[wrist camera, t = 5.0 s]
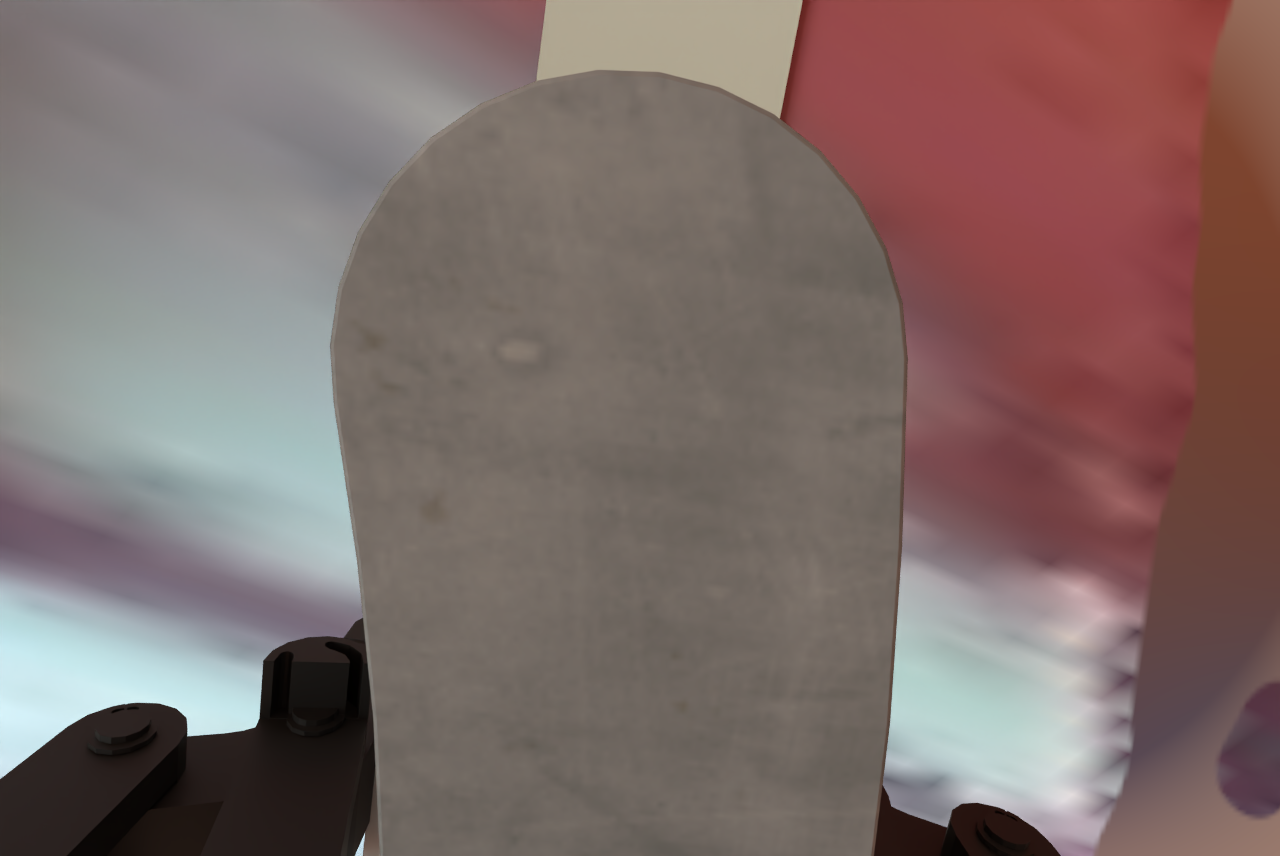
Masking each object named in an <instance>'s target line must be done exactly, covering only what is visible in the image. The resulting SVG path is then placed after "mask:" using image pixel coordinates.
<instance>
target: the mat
mask: <svg viewBox="0 0 1280 856" xmlns="http://www.w3.org/2000/svg"><path fill="white" fill-rule="evenodd" d="M802 1H803V0H546V8H545V16H544V24H543V32H542V39H541V47H540V55H539V63H538V71H537V78H536V81H538V80H543V79H549V78H555V77H560V76H566V75H572V74H577V73H583V72H589V71H594V70H619V71H645V72H662V73H666V74H670V75H674V76H678V77H681V78H685V79H689V80H693V81H697V82H701V83H705V84H709V85H713V86H717V87H720V88H722V89H724V90H726V91H728V92H730V93H732V94H734V95H736V96H738V97H740V98H742V99H744V100H746V101H748V102H750V103H752V104H754V105H756V106H758V107H760V108H763V109H765V110H767V111H769V112H771V113H773V114H774V115H776V116H777V117H778V118H779V119H780V115H781V110H782V105H783V100H784V95H785V89H786V84H787V79H788V74H789V69H790V64H791V58H792V53H793V48H794V43H795V38H796V32H797V27H798V22H799V17H800V12H801V7H802Z"/></svg>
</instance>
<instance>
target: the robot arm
mask: <svg viewBox="0 0 1280 856" xmlns="http://www.w3.org/2000/svg"><path fill="white" fill-rule="evenodd" d="M364 833H365V840H364V850H363V856H380V848H379V827H378V806H377V785H376V764H375V743H374V722H373V710H372V700H371V691H370V681H369V671H368V662H367V652H366V642H365V632H364V623H363V618H362V619H360V620H358V621H356V622H355V623H354V625H353V626H352V627H351V629H350V630H349V632H348V633H347V634H346V636H345V637H344V638H338V637H330V636H325V637H308V638H304V639H300V640H296V641H292V642H288V643H286V644H284V645H282V646H280V647H278V648H276V649H275V650H273V651H272V652H271V653H270V654H269V655H268V656H267V657H266V658H265V660H264V661H263V675H262V690H261V705H260V719H259V721H258V723H257V726H256V727H255V728H252V729H248V730H245V731H239V732H232V733H225V734H213V735H200V736H188V737H187V719H186V717H185V716H184V715H183V714H181V713H180V712H179V711H178V710H177V709H175V708H172V707H169V706H165V705H162V704H156V703H130V704H126V705H125V704H123V705H118V706H113V707H110V708H107V709H104V710H101V711H98V712H95V713H92V714H89V715H87V716H85V717H83V718H82V719H80V720H78V721H77V722H75V723H73V724H72V725H70V726H68V727H67V728H65V729H64V730H63V731H62V732H60V733H59V734H58V735H56V736H55V737H54V738H53V739H51V740H50V741H49V742H47V743H46V744H45V745H44V746H42V747H41V748H40V749H38V750H37V751H36V752H35V753H33V754H32V755H31V756H29V757H28V758H27V759H26V760H24V761H23V762H22V763H21V764H19V765H18V766H17V767H15V768H14V769H13V770H12V771H10V772H9V773H8V774H6V775H5V776H4V777H3V778H1V779H0V856H355V854H356V851H357V849H358V847H359V845H360V842H361V840H362V838H363V836H364ZM874 856H1061V855H1060V854H1059V853H1058V852H1057V850H1056V849H1055V848H1054V847H1053V845H1052V844H1051V843H1050V842H1049V841H1048V840H1047V839H1046V838H1045V837H1044V836H1043V835H1042V834H1041V833H1040V832H1039V831H1038V830H1037V829H1035V828H1034V827H1032V826H1031V825H1029V824H1028V823H1026V822H1025V821H1023V820H1022V819H1020V818H1019V817H1018V816H1016V815H1014V814H1012V813H1010V812H1008V811H1007V812H1006V811H1005V810H1003V809H1001V808H998V807H994V806H989V805H984V804H980V803H967V804H961V805H959V806H958V807H956V808H955V809H953V810H952V813H951V817H950V820H949V824H948V827H944V826H941V825H938V824H935V823H932V822H929V821H926V820H924V819H921V818H918V817H915V816H912V815H909V814H907V813H905V812H902V811H900V810H897V809H895V808H893V807H891V804H890V800H889V796H888V794H887V792H886V791H885V789H884V787H883V785H882V792H881V801H880V809H879V817H878V826H877V834H876V842H875V850H874Z"/></svg>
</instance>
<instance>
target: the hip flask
mask: <svg viewBox="0 0 1280 856" xmlns="http://www.w3.org/2000/svg"><path fill="white" fill-rule="evenodd" d="M330 351H331V367H332V383H333V399H334V408H335V414H336V421H337V428H338V435H339V441H340V448H341V455H342V462H343V469H344V475H345V482H346V489H347V496H348V503H349V509H350V516H351V523H352V530H353V536H354V543H355V550H356V557H357V564H358V574H359V584H360V593H361V603H362V613H363V623H364V632H365V642H366V652H367V662H368V671H369V681H370V691H371V700H372V710H373V722H374V743H375V764H376V785H377V806H378V827H379V848H380V856H874V850H875V842H876V834H877V826H878V817H879V809H880V801H881V792H882V784H883V776H884V768H885V759H886V751H887V743H888V735H889V726H890V715H891V700H892V685H893V670H894V656H895V641H896V626H897V611H898V596H899V582H900V567H901V552H902V528H903V495H904V462H905V429H906V396H907V363H908V357H907V346H906V335H905V324H904V314H903V303H902V299H901V296H900V293H899V289H898V286H897V283H896V279H895V276H894V272H893V269H892V266H891V262H890V259H889V256H888V252H887V249H886V247H885V245H884V243H883V241H882V239H881V237H880V235H879V234H878V232H877V230H876V228H875V226H874V224H873V222H872V220H871V219H870V217H869V215H868V213H867V211H866V209H865V207H864V206H863V204H862V202H861V200H860V198H859V196H858V195H857V194H856V193H855V192H854V190H853V189H852V188H851V187H850V186H849V184H848V183H847V182H846V181H845V180H844V178H843V177H842V176H841V175H840V174H839V172H838V171H837V170H836V169H835V168H834V166H833V165H832V164H831V163H830V162H829V160H828V159H827V158H826V157H825V156H824V154H823V153H822V152H821V151H820V150H819V149H817V148H816V147H815V146H814V145H812V144H811V143H810V142H809V141H807V140H806V139H805V138H803V137H802V136H801V135H800V134H798V133H797V132H796V131H795V130H793V129H792V128H791V127H790V126H788V125H787V124H786V123H784V122H783V121H782V120H781V119H779V118H778V117H777V116H776V115H774V114H773V113H771V112H769V111H767V110H765V109H763V108H760V107H758V106H756V105H754V104H752V103H750V102H748V101H746V100H744V99H742V98H740V97H738V96H736V95H734V94H732V93H730V92H728V91H726V90H724V89H722V88H720V87H717V86H713V85H709V84H705V83H701V82H697V81H693V80H689V79H685V78H681V77H678V76H674V75H670V74H666V73H662V72H645V71H619V70H594V71H589V72H583V73H577V74H572V75H566V76H560V77H555V78H549V79H543V80H538V81H535V82H533V83H530V84H528V85H526V86H523V87H521V88H518V89H516V90H513V91H511V92H508V93H506V94H504V95H501V96H499V97H496V98H494V99H491V100H489V101H486V102H484V103H481V104H480V105H478V106H477V107H475V108H474V109H473V110H471V111H470V112H468V113H467V114H465V115H464V116H462V117H461V118H459V119H458V120H456V121H455V122H453V123H452V124H451V125H449V126H448V127H446V128H445V129H443V130H442V131H440V132H439V133H437V134H436V135H434V136H433V137H432V138H430V139H429V140H428V141H427V143H426V144H425V145H424V146H423V147H422V148H421V149H420V150H419V151H418V152H417V153H416V154H415V155H414V156H413V157H412V158H411V159H410V160H409V161H408V162H407V164H406V165H405V166H404V167H403V168H402V169H401V170H400V171H399V172H398V173H397V174H396V175H395V176H394V177H393V178H392V179H391V180H390V181H389V183H388V184H387V186H386V188H385V189H384V191H383V193H382V194H381V196H380V198H379V199H378V201H377V202H376V204H375V206H374V207H373V209H372V211H371V212H370V214H369V215H368V217H367V219H366V220H365V222H364V224H363V225H362V227H361V228H360V230H359V232H358V234H357V237H356V239H355V242H354V245H353V248H352V251H351V253H350V256H349V259H348V262H347V265H346V267H345V270H344V273H343V276H342V279H341V281H340V284H339V287H338V293H337V300H336V307H335V314H334V321H333V328H332V335H331V343H330Z"/></svg>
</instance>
